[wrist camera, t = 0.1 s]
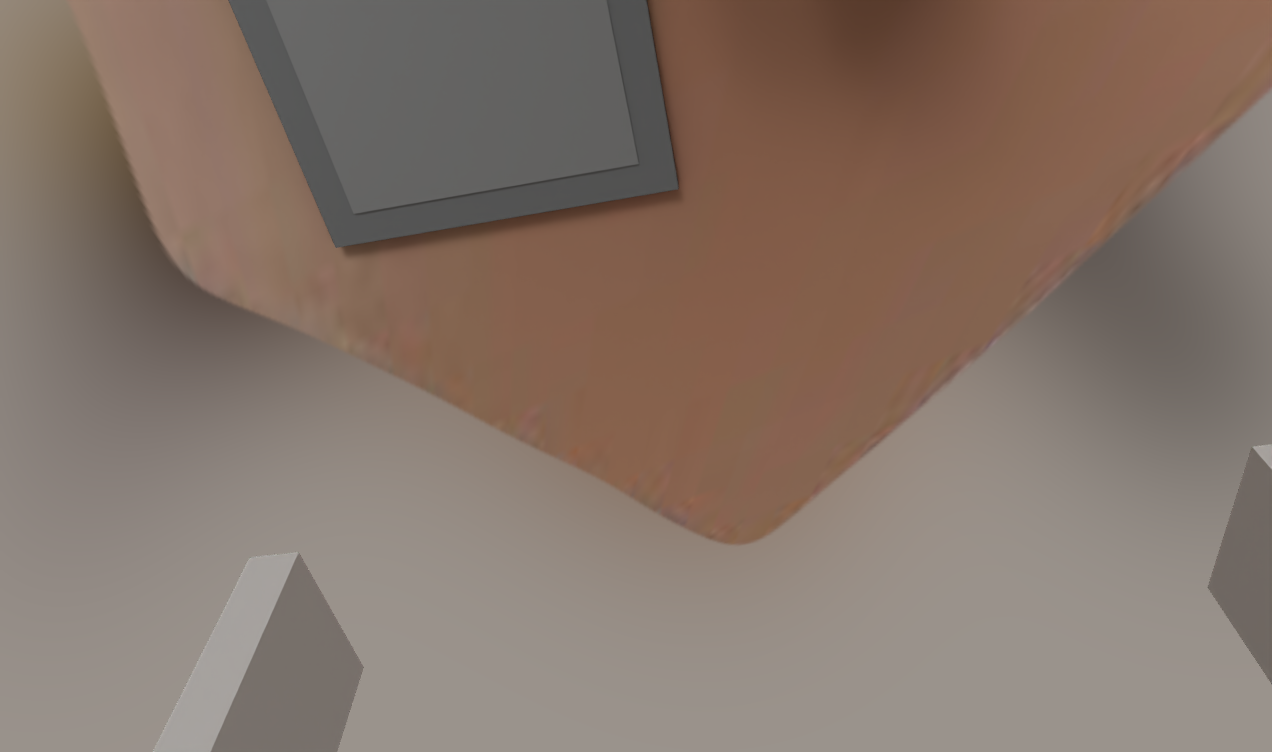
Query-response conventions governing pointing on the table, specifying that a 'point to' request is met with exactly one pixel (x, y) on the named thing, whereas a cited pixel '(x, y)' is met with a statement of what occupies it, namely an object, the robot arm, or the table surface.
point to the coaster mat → (462, 107)
